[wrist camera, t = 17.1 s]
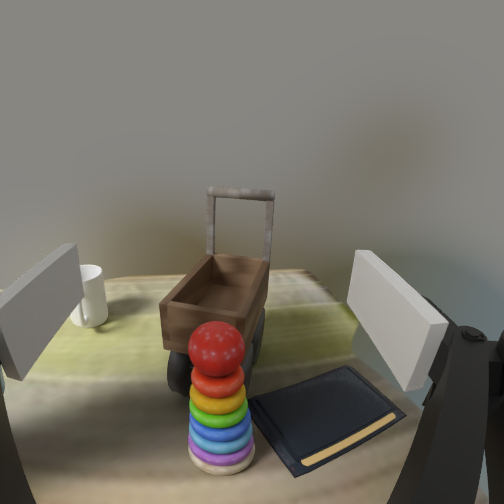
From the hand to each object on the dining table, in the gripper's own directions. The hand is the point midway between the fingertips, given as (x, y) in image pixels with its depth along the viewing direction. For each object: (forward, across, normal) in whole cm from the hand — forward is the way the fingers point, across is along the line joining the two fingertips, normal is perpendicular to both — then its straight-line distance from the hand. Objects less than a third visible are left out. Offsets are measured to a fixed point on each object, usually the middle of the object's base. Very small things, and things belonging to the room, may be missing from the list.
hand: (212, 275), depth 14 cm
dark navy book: (+16, +15, -29) cm, 36 cm away
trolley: (+26, 0, -28) cm, 38 cm away
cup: (+37, -27, -28) cm, 54 cm away
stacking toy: (+10, 0, -28) cm, 30 cm away
